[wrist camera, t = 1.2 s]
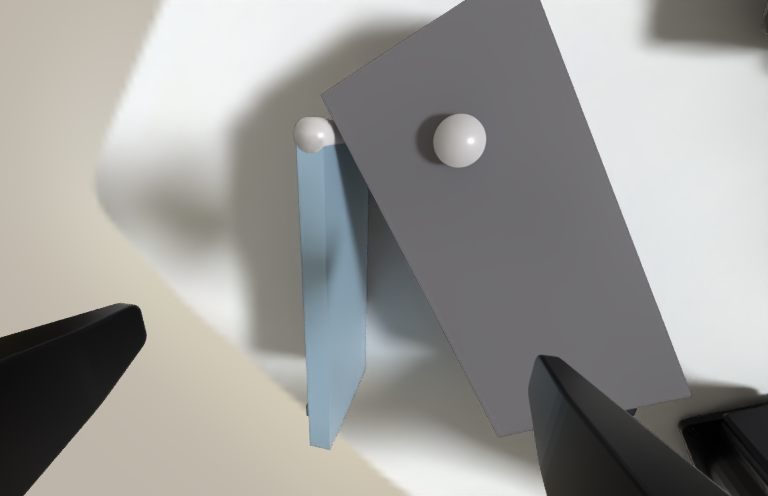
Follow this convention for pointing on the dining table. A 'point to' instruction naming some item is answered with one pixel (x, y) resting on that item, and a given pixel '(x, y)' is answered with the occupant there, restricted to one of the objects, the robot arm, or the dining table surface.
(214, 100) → the dining table surface
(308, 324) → the side door
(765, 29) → the camcorder
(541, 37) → the grey block with knob
